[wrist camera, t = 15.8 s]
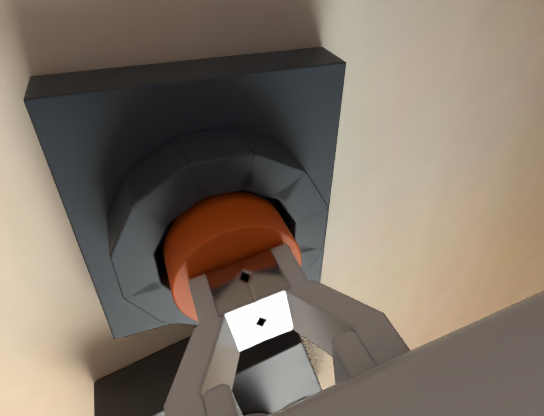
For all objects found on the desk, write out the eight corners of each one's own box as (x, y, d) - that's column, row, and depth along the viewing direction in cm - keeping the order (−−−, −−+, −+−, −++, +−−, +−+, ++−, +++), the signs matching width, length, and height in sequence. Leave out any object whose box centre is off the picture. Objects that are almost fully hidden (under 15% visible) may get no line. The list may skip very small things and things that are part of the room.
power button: (280, 269, 15) (299, 305, 14) (172, 298, 14) (181, 339, 13) (283, 179, 13) (306, 212, 11) (152, 205, 12) (161, 245, 10)
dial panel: (317, 384, 28) (338, 429, 26) (182, 452, 27) (191, 505, 25) (279, 293, 21) (303, 344, 18) (93, 382, 20) (94, 447, 18)
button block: (305, 258, 20) (338, 313, 17) (112, 307, 17) (116, 380, 15) (323, 46, 14) (378, 82, 11) (29, 76, 11) (13, 130, 9)
